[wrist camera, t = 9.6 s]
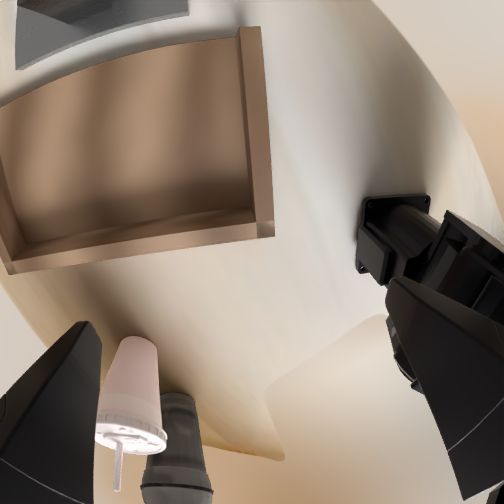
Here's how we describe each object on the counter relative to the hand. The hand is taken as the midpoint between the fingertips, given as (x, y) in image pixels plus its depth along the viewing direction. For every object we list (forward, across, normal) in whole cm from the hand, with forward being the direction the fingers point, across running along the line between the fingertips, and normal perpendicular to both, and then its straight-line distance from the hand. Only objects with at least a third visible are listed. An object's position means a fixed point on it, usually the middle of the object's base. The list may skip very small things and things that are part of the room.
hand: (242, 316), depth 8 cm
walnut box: (+12, +7, -4) cm, 14 cm away
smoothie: (+12, +10, +14) cm, 21 cm away
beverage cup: (+12, +9, +24) cm, 28 cm away
